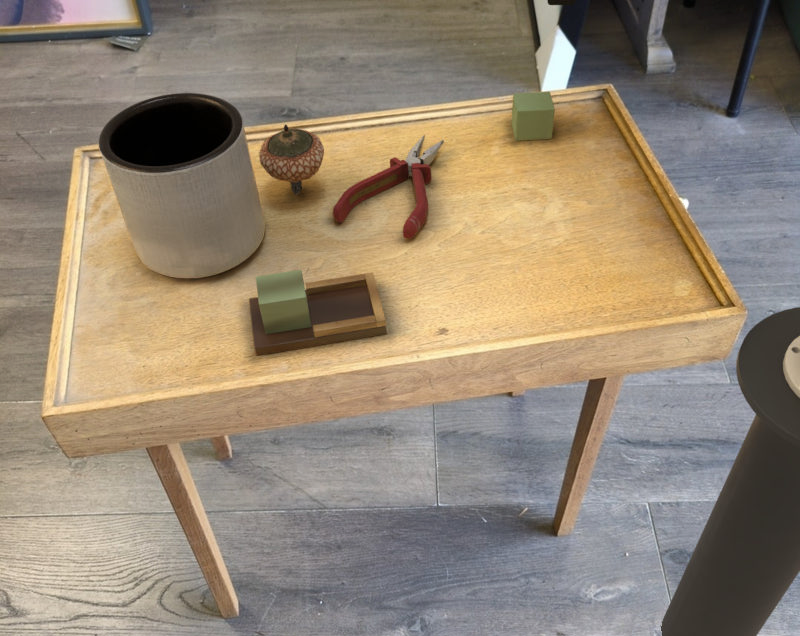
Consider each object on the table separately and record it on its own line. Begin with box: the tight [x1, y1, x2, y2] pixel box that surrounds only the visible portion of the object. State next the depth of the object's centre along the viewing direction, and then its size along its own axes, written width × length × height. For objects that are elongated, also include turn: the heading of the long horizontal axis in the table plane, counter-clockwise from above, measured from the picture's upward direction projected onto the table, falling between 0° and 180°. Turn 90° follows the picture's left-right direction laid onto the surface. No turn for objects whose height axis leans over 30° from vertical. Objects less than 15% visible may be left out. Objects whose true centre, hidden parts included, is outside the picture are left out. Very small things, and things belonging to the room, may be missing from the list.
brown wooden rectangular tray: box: [248, 269, 388, 356], centre depth 91 cm, size 8×14×6 cm, turn 101°
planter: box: [98, 92, 266, 279], centre depth 97 cm, size 16×16×16 cm
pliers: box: [332, 134, 445, 240], centre depth 107 cm, size 12×20×3 cm, turn 156°
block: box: [510, 91, 556, 142], centre depth 114 cm, size 4×5×4 cm
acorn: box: [258, 124, 325, 196], centre depth 105 cm, size 8×8×10 cm
